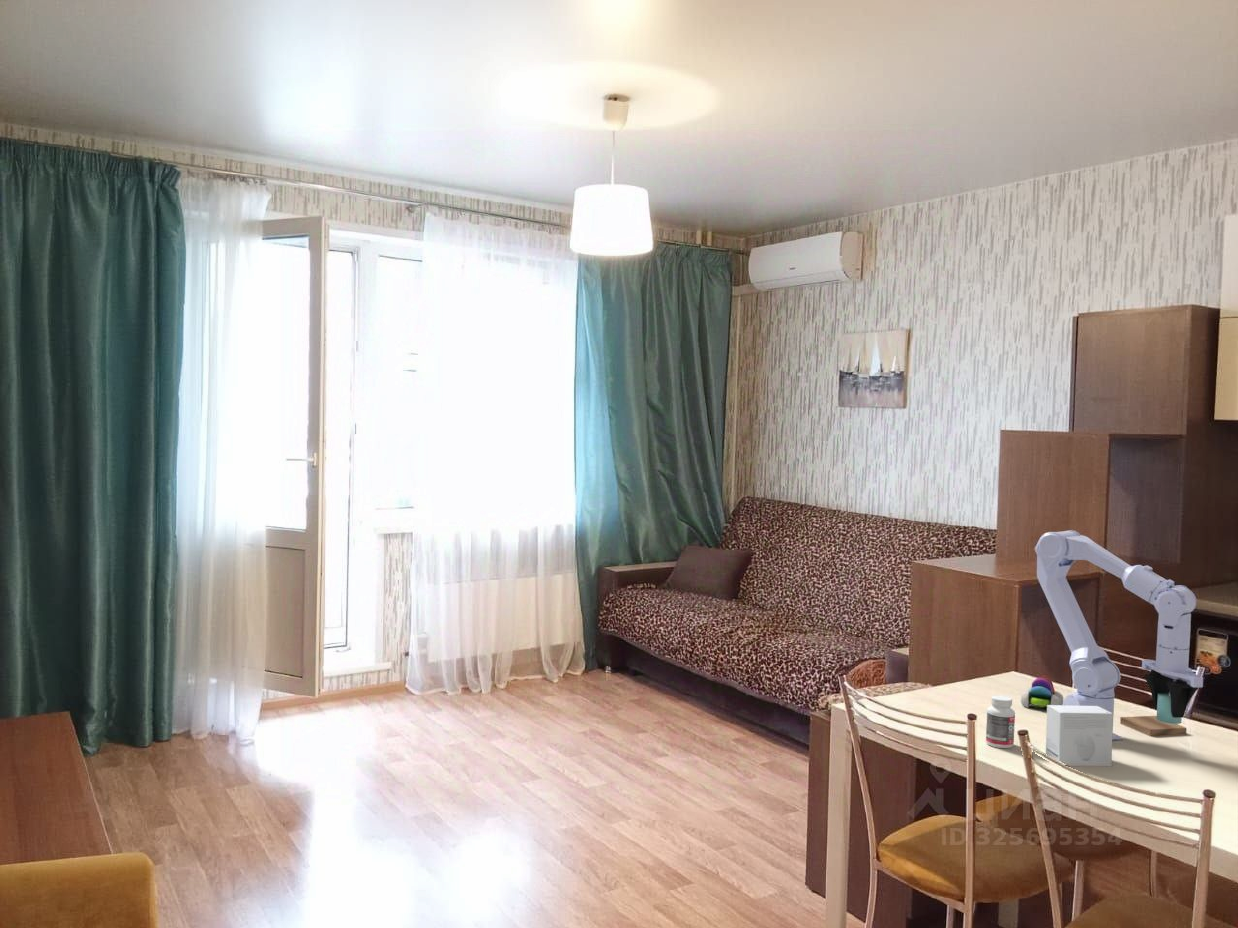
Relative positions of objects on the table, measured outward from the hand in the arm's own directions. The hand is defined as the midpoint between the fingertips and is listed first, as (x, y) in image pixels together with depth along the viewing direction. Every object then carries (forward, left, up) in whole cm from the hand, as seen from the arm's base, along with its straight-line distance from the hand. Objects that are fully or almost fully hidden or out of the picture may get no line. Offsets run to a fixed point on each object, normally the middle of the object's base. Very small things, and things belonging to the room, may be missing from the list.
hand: (1169, 713), depth 199 cm
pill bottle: (-31, +10, -9) cm, 34 cm away
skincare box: (-21, -1, -9) cm, 23 cm away
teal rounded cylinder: (0, 0, -1) cm, 1 cm away
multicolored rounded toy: (-5, +34, -9) cm, 36 cm away
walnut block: (+9, +15, -9) cm, 20 cm away
